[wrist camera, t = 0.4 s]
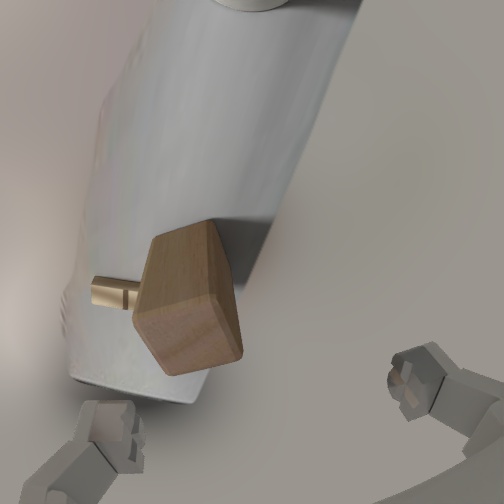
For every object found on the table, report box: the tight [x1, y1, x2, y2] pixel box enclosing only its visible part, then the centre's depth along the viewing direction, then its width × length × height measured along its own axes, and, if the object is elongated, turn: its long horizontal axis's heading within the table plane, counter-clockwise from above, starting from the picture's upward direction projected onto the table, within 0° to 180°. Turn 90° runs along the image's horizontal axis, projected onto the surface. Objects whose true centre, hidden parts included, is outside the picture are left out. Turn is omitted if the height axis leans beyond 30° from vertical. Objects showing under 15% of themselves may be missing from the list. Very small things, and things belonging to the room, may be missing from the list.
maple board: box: [91, 276, 140, 310], centre depth 52 cm, size 4×21×3 cm, turn 77°
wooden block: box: [132, 220, 243, 376], centre depth 42 cm, size 10×10×20 cm
